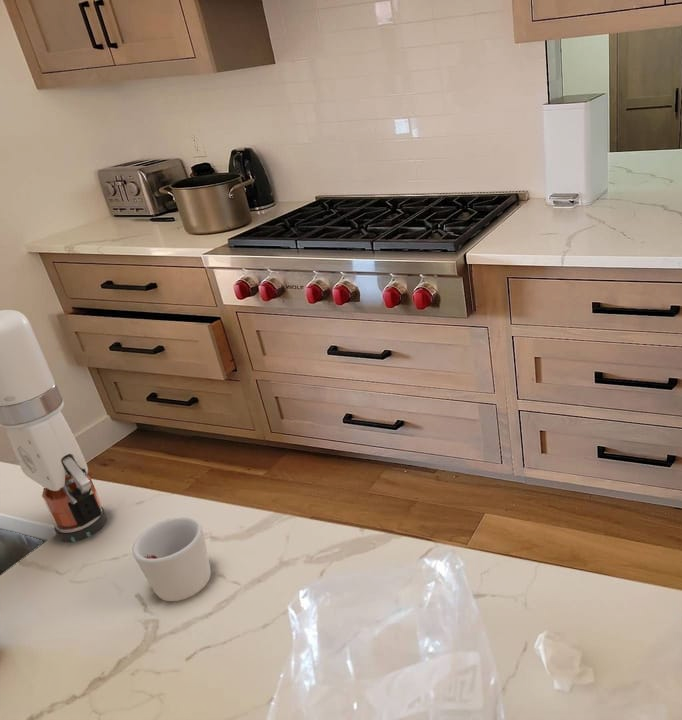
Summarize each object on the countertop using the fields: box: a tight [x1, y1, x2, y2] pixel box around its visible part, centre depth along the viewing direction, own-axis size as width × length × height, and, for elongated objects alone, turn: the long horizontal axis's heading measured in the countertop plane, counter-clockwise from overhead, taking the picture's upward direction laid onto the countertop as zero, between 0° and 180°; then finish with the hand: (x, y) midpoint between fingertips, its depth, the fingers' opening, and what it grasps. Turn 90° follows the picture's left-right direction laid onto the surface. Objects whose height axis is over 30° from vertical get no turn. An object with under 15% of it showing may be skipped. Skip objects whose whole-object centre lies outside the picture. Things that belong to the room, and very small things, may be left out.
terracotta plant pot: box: [41, 474, 102, 527], centre depth 96 cm, size 6×6×5 cm
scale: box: [54, 506, 108, 543], centre depth 97 cm, size 6×6×3 cm
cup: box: [132, 516, 211, 602], centre depth 85 cm, size 11×8×8 cm
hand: (77, 511), depth 96 cm, fingers closed on terracotta plant pot, 6 cm apart
